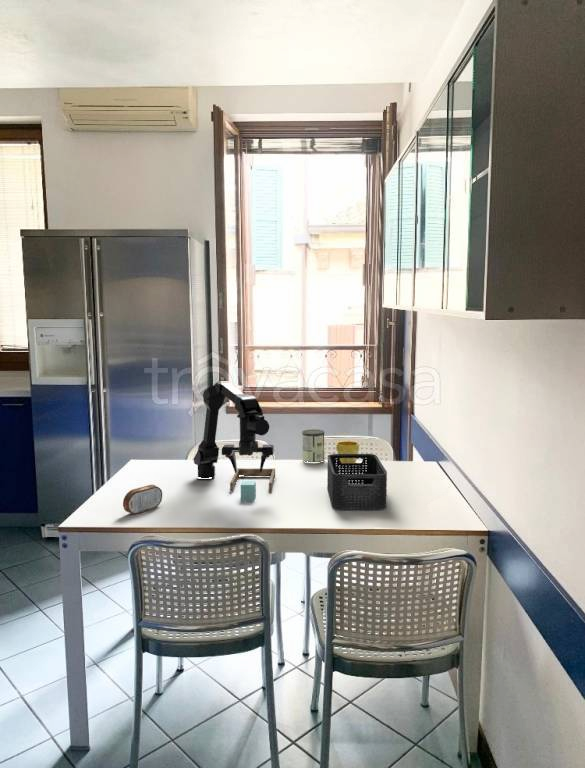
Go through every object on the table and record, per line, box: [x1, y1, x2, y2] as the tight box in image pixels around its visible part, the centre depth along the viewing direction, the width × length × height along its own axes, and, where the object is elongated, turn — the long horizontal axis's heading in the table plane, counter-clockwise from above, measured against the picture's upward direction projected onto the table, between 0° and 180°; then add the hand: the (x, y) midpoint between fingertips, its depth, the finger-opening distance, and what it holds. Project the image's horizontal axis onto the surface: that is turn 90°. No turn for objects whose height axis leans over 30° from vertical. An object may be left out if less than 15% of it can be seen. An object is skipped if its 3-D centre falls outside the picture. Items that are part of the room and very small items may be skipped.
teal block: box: [240, 480, 257, 502], centre depth 210 cm, size 5×5×6 cm
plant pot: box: [335, 440, 360, 463], centre depth 258 cm, size 10×10×10 cm
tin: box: [122, 484, 163, 515], centre depth 197 cm, size 15×3×8 cm, turn 141°
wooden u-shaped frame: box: [229, 467, 276, 493], centre depth 229 cm, size 16×21×4 cm
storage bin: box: [326, 453, 388, 511], centre depth 210 cm, size 29×19×13 cm
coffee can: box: [301, 428, 325, 462], centre depth 263 cm, size 10×10×14 cm
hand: (248, 472), depth 209 cm, fingers open, 9 cm apart
